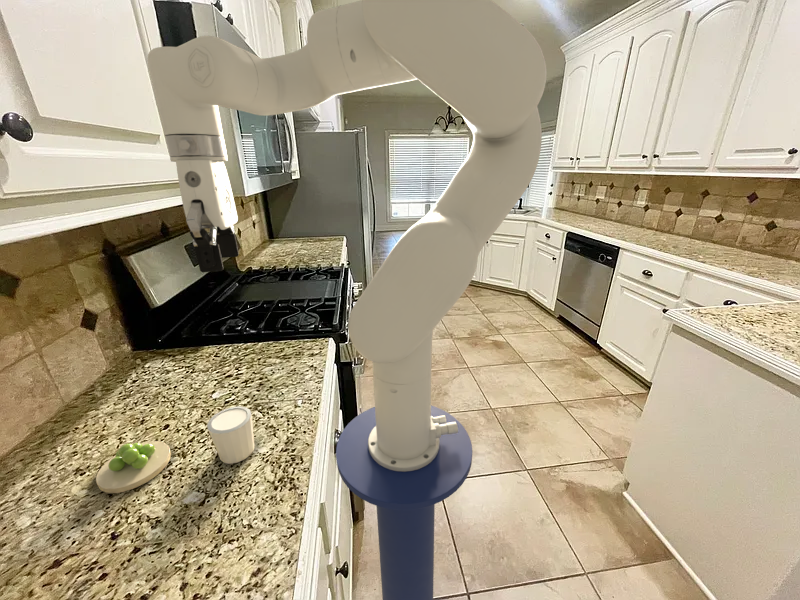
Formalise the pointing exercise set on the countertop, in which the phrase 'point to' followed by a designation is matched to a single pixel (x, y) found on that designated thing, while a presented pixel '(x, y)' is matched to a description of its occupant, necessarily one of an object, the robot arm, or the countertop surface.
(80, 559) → the countertop surface
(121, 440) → the countertop surface
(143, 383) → the countertop surface
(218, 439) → the white ramekin
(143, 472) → the grape dish
